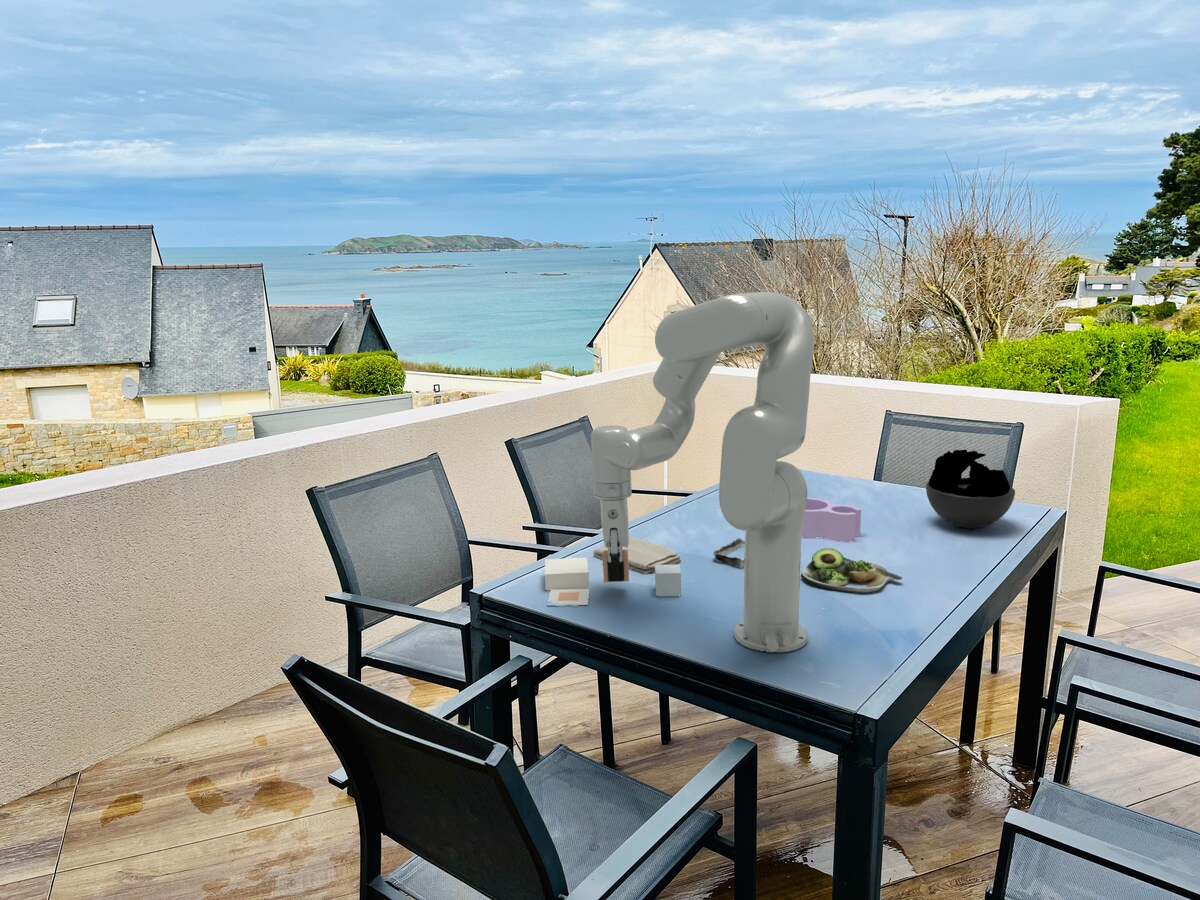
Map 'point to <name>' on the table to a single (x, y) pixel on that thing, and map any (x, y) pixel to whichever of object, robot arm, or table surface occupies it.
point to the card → (569, 596)
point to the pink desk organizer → (831, 520)
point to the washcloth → (645, 555)
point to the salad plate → (844, 573)
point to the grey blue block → (668, 580)
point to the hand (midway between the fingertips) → (616, 574)
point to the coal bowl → (968, 490)
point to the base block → (566, 573)
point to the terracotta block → (624, 558)
